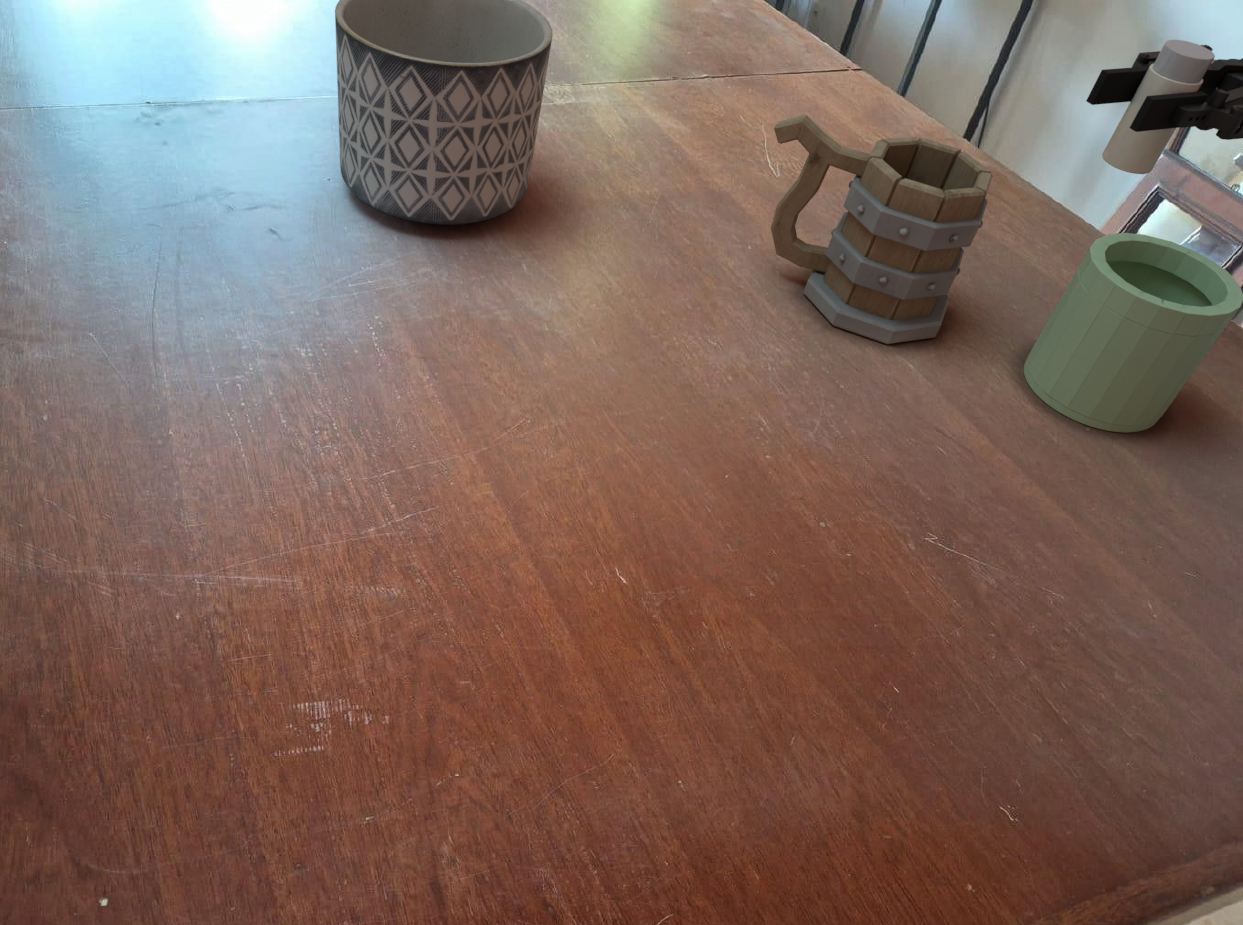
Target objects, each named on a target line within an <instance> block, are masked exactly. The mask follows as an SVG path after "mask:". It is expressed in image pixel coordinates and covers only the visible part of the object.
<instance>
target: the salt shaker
mask: <svg viewBox="0 0 1243 925" xmlns="http://www.w3.org/2000/svg"><path fill="white" fill-rule="evenodd" d="M1201 45H1202V44H1197V43H1196V42H1195V43H1194V42H1191V41H1187V40H1183V39H1168V40H1166V41H1165V42H1164V44H1163V46H1162V48H1161V50H1159V51H1160V53H1159V55H1158V57H1157V59H1156V61H1155V62H1154V63H1153V64H1151V65H1150V67H1149V68H1148V70H1147V72H1146V74H1145V76H1144V78H1143V80H1142V81H1141V83H1140V85H1139V87H1138V89H1137V91H1136V92H1135V94H1134V96H1133V98H1132V100H1131V102H1129V104H1128V105H1127V107H1126V109H1125V111H1124V113H1123V115H1122V116H1121V118H1120V120H1119V121H1118V124H1117V126H1116V128H1115V129H1114V131H1113V133H1112V135H1111V137H1110V139H1109V141H1108V143H1107V145H1106V146H1105V148H1104V150H1103V152H1102V153H1101V157H1102V159H1103V161H1105V163H1107V164H1108V165H1109V166H1111V167H1113V168H1115V169H1117V170H1120V171H1122V172H1126V173H1129V174H1136V175H1147V174H1150V173H1151V172H1152V171H1153V169H1154V168H1155V166H1156V164H1157V162H1158V161H1159V159H1160V157H1161V155H1162V154H1163V152H1164V150H1165V149H1166V147H1167V145H1168V143H1169V142H1170V141H1171V138H1172V137H1173V135H1174V133H1175V131H1176V130H1177V128H1170V129H1160V130H1150V131H1141V132H1135V131H1134V130H1132V129H1130V126H1131V124H1132V122H1133V120H1134V119H1135V117H1136V115H1137V113H1138V111H1139V109H1140V108H1141V106H1142V104H1143V102H1144V100H1145V99H1146V97H1147V96H1153V95H1165V94H1176V93H1188V92H1198V90H1199V88H1200V87H1201V85H1202V83H1203V79H1202V78H1203V77H1204V75H1205V73H1206V71H1207V70H1208V68H1209V66H1210V64H1211V63H1212V61H1213V59H1215V58H1216V55H1215V53H1214V52H1213V51H1212V52H1211V51H1210V50H1209V49H1207V48H1205V47H1203V46H1201Z"/></svg>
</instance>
